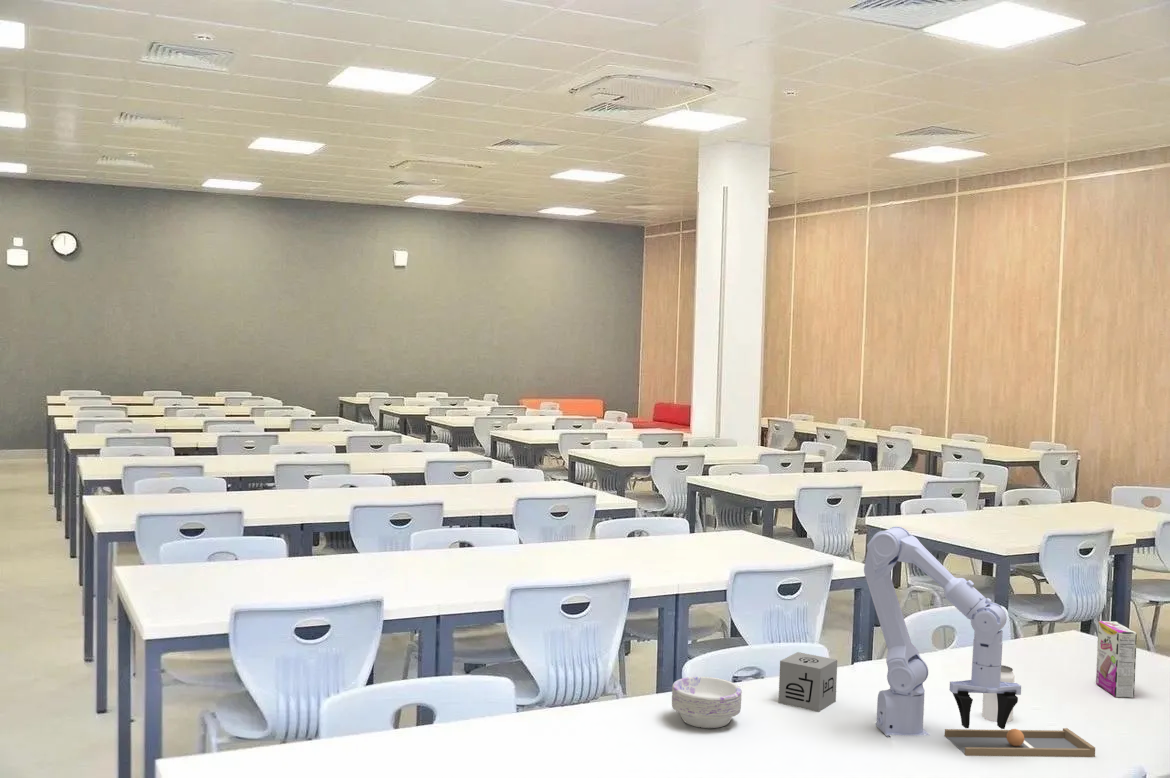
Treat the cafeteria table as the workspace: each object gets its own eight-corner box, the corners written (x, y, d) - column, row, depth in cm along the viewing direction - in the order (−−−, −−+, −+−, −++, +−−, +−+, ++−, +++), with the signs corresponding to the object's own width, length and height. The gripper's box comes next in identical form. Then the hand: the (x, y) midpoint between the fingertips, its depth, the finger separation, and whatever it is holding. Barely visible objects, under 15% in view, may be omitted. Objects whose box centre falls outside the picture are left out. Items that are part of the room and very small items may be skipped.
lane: (966, 758, 225) (966, 746, 225) (944, 738, 237) (944, 726, 237) (1094, 759, 227) (1095, 747, 227) (1066, 739, 238) (1067, 728, 238)
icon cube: (818, 712, 252) (820, 668, 252) (778, 703, 258) (780, 660, 257) (835, 701, 260) (837, 659, 260) (796, 693, 266) (797, 652, 265)
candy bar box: (1094, 684, 281) (1097, 620, 280) (1114, 685, 281) (1117, 621, 280) (1114, 698, 270) (1117, 631, 269) (1135, 698, 270) (1138, 632, 269)
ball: (1024, 729, 230) (1029, 745, 230) (1016, 724, 234) (1021, 740, 234) (1009, 734, 230) (1014, 750, 230) (1001, 729, 233) (1006, 745, 233)
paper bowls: (738, 736, 234) (739, 699, 234) (666, 729, 237) (668, 692, 237) (742, 714, 249) (743, 679, 249) (675, 707, 252) (676, 673, 252)
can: (993, 726, 246) (996, 672, 245) (976, 716, 252) (978, 664, 252) (1018, 724, 248) (1021, 671, 247) (1000, 714, 254) (1002, 663, 253)
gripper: (960, 667, 226) (956, 733, 227) (1029, 669, 227) (1025, 734, 228) (947, 657, 233) (943, 721, 234) (1014, 659, 234) (1010, 722, 235)
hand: (983, 727), depth 231 cm, fingers open, 7 cm apart
